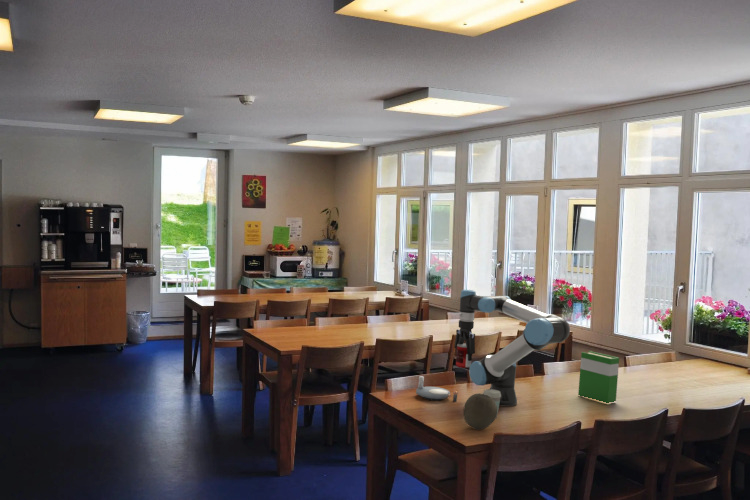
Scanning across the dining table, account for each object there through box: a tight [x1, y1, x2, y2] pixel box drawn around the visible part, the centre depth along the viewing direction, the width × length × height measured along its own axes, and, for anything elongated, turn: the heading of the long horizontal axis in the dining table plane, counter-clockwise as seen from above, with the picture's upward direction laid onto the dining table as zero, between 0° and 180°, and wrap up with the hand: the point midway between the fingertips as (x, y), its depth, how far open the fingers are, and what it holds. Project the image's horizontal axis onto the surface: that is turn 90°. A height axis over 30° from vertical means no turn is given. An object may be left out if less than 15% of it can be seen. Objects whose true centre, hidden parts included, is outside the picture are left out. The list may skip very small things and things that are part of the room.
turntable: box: [415, 375, 452, 400], centre depth 325 cm, size 18×17×8 cm
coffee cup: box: [482, 388, 501, 419], centre depth 298 cm, size 8×9×12 cm
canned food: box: [455, 343, 470, 369], centre depth 328 cm, size 8×8×11 cm
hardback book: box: [577, 350, 620, 403], centre depth 340 cm, size 18×7×24 cm, turn 37°
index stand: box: [422, 390, 458, 403], centre depth 323 cm, size 17×10×5 cm, turn 46°
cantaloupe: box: [462, 393, 498, 431], centre depth 280 cm, size 14×14×15 cm
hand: (463, 364), depth 328 cm, fingers closed on canned food, 8 cm apart
